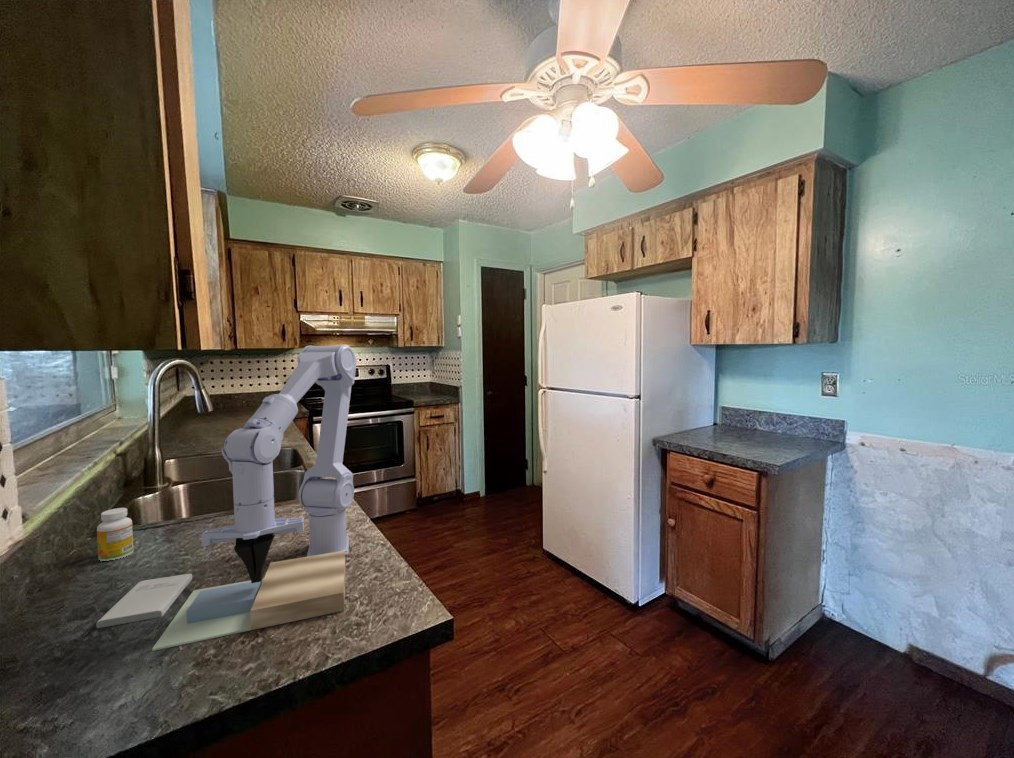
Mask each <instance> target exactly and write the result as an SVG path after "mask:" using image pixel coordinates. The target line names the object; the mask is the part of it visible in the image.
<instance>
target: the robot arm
mask: <svg viewBox="0 0 1014 758" xmlns="http://www.w3.org/2000/svg"><path fill="white" fill-rule="evenodd" d="M296 360H297V365H296V367H295V369H294V370H293V372H292V373H291V375H290V376H289V378H288V379H287V380H286V382H285V384H284V385H283V386H282V387H281V390H280V392H279V393H276V394H275V393H274V394H269V395H268V396H265V397H264V398H263V399H262V401H261V402H262V403H261V405H260V406H259V407H258V408H257V410H256V411H255V412H254V413H253V415H251V417H250V418H249V419H248V420H247V421H246V423H245V424H244V425H243V427H242V428H241V427H240V428H237V429H235V430H233V431H232V432H231V433H230V434H228V436H227V437H226V439H225V441H224V445H223V447H221V453H222V456H223V458H224V460H226V462H227V464H228V471H229V472H230V473H231V474H232V493H233V496H232V497H233V513H234V515H233V517H234V519H233V520H234V524H232V525H227V526H226V525H225V526H222V527H218V528H213V529H206V530H205V531H204V532H203V533H202V534H201V547H202V548H203V547H208V546H209V547H210V546H211V545H212V544H213V545H214V544H219V543H227V542H233V541H235V545H234V548H233V550H234V551H235V554H236V555H238V557H239V558H240V559H241V561H242V563H243V565H244V566H245V568H246V570H247V573H248V575H249V578H250V580H251V583H256V582H261V580H262V578H264V574H265V573H264V572H265V571H264V570H265V565H266V561H267V557H268V554H269V551H270V548H271V546H272V543H273V541H274V539H275V536H277V535H283V534H284V535H285V534H292V533H296V534H301V533H304V530H305V517H295V518H276V517H275V516H276V515H275V514H276V513H275V493H274V492H275V490H274V487H275V486H274V471H273V470H274V468H273V467H274V466H273V465H274V463H273V461H274V460H275V459H276V458H277V456H279V454H280V452H281V449H282V441H283V439H284V433H285V432H286V431H287V429H288V428H289V426H290V424H291V423H292V421H294V419H295V417H296V416H297V414H298V413H299V408H298V405H297V404H298V403H299V401H300V400H301V399H302V398H303V397H304V396H305V395H306V393H307V392H308V391H309V390H310V389H311V387H312V386H313V385H314V384H316V385H318V386H320V387H321V388H322V389H323V390H324V399H323V405H322V413H321V414H322V415H321V423H320V430H319V435H318V436H319V437H318V445H317V452H316V459H315V460H316V461H315V464H314V465H312V466H311V467H310V468H308V469H307V470H306V471H305V472H304V475H303V481H302V483H301V485H300V488H299V490H298V495H297V496H298V501H299V504H300V505H301V506H302V508H305V509H304V512H305V513H306V514H308V531H309V537H308V538H309V545H308V550H307V553H306V557H308V556H314V555H321V554H327V553H333V552H339V551H345V557H346V556H349V548H350V547H349V546H350V545H349V544H350V543H349V542H350V541H349V540H350V536H349V535H347V515H346V513H347V511H346V510H348V508H349V507H350V505H351V504H352V502H353V500H354V496H355V487H354V474H353V472H352V471H351V470H349V468H347V467H346V466H345V465H344V464H343V462H344V453H345V446H346V437H347V427H348V419H349V409H350V401H351V393H352V386H353V385H354V384H355V378H356V369H357V360H358V359H357V357H356V355H355V352H354V351H353V349H352V348H351V346H350V345H348V344H341V345H307V346H304V347H303V348H302V350H301V352H300V353H299V354H298V355H297V359H296ZM323 477H324V478H323Z"/></svg>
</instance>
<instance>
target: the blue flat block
mask: <svg viewBox="0 0 1014 758" xmlns="http://www.w3.org/2000/svg"><path fill="white" fill-rule="evenodd" d="M261 584H262V580H261V582H256V583H251V582H250V583H244V584H238V585H232V586H227V587H221V588H215V589H209V590H204V591H200V592H199V594H198V595H197V597H196V598H195V600H194V601H193V603H192V604H191V605H190V607H189V608H188V610H187V624H190V623H195V622H200V621H205V620H210V619H215V618H221V617H226V616H231V615H236V614H241V613H246V612H251V608H252V606H253V603H254V601H255V599H256V596H257V594H258V591H259V589H260V587H261Z"/></svg>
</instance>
